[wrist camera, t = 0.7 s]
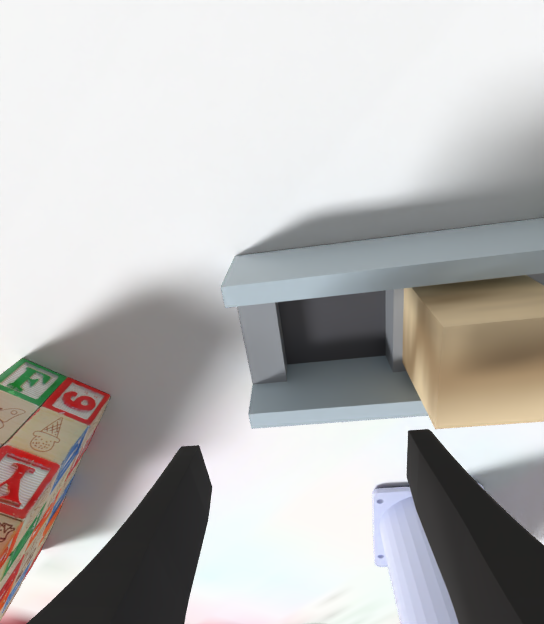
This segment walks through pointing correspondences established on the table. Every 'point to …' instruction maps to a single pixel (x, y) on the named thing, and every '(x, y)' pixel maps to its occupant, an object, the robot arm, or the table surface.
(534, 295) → the maple block
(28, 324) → the table surface
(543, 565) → the robot arm
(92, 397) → the stack of blocks
